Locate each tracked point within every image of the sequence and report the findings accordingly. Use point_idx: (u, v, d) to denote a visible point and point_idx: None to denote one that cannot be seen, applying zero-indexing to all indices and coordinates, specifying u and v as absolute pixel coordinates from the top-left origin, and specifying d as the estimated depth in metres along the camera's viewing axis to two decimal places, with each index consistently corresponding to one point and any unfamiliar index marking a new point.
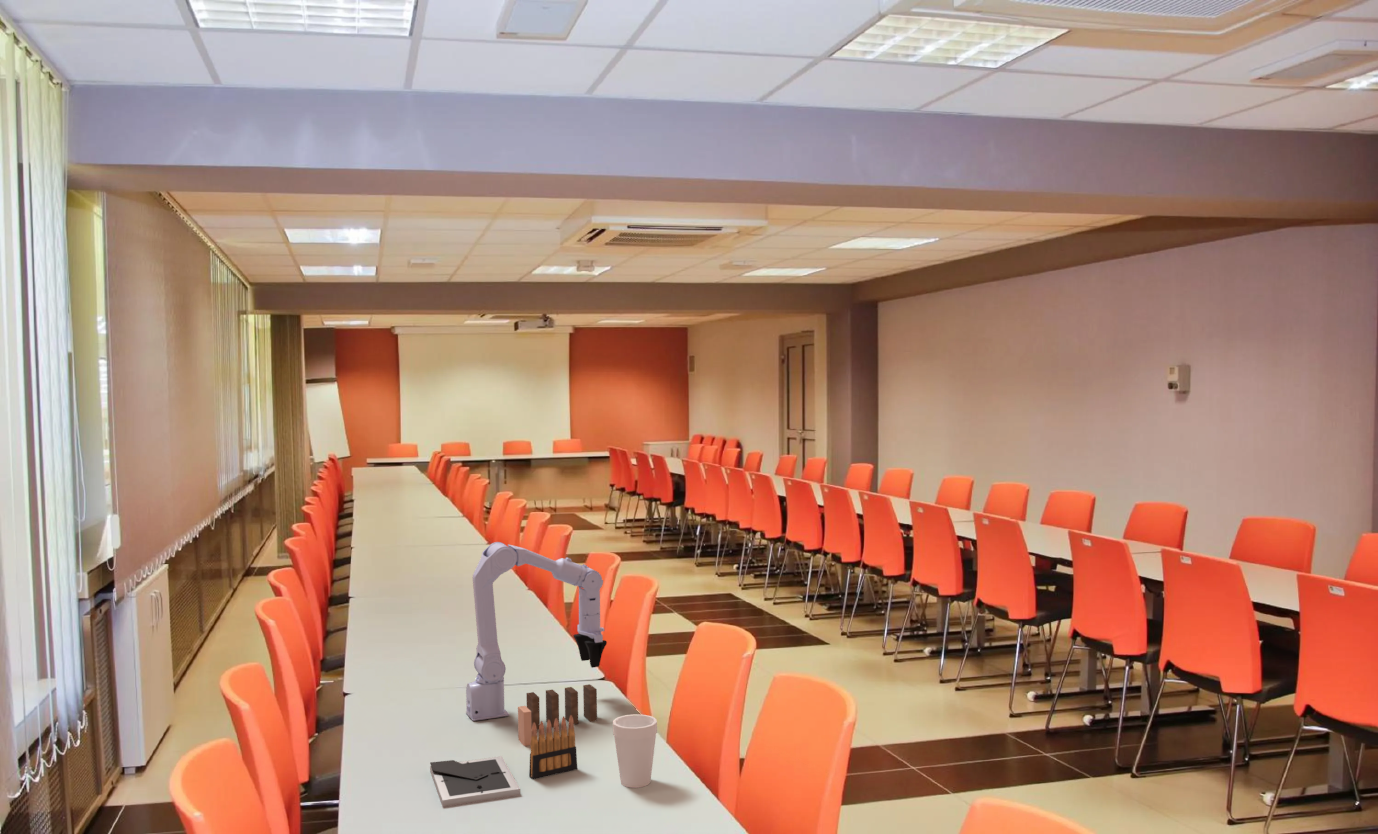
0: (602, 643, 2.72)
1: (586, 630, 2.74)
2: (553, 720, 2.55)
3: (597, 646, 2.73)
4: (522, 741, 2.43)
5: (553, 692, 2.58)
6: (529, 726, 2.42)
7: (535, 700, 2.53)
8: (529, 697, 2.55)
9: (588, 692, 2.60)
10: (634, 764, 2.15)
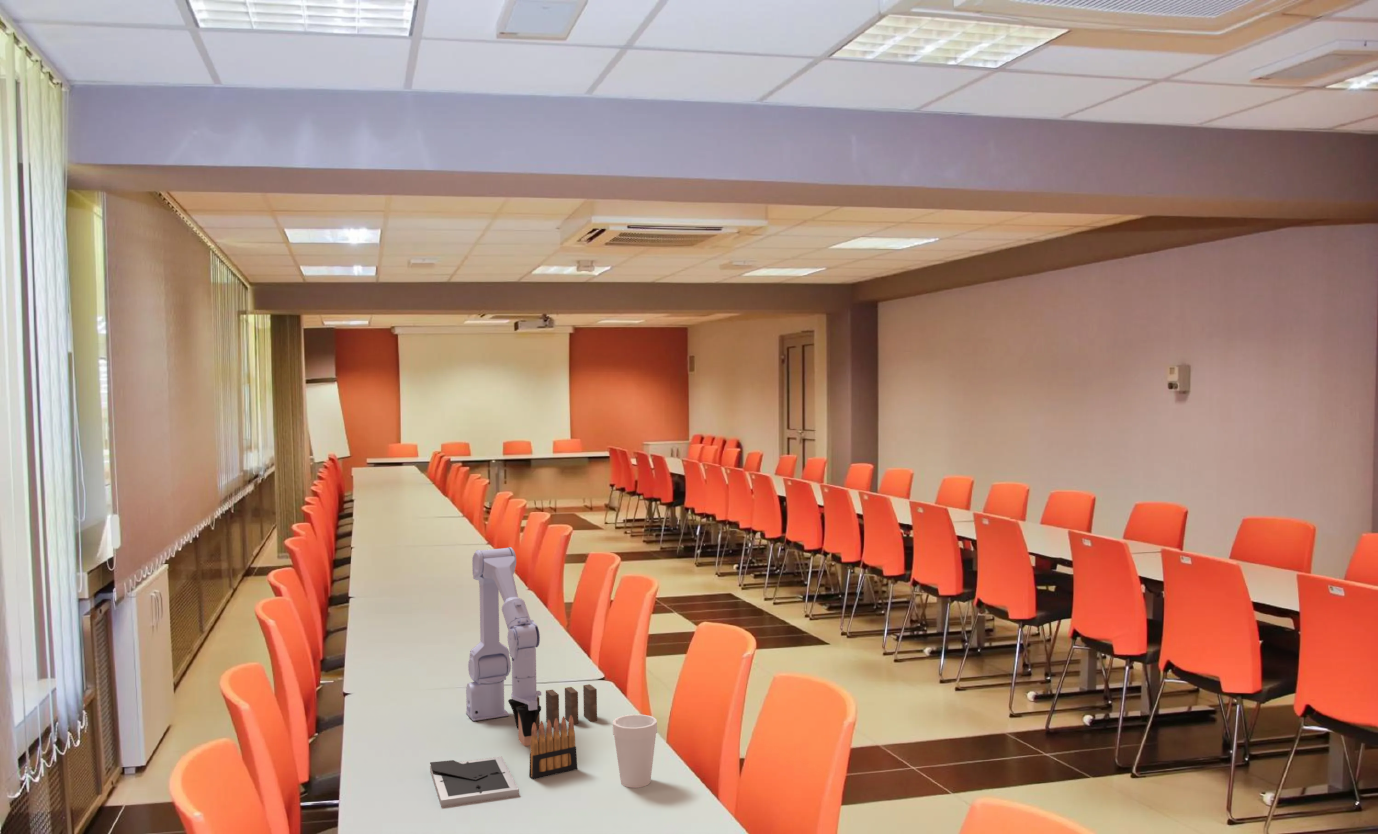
0: (536, 709, 2.40)
1: (519, 695, 2.41)
2: (553, 720, 2.55)
3: (530, 712, 2.41)
4: (522, 741, 2.43)
5: (553, 692, 2.58)
6: None
7: None
8: None
9: (588, 692, 2.60)
10: (634, 764, 2.15)
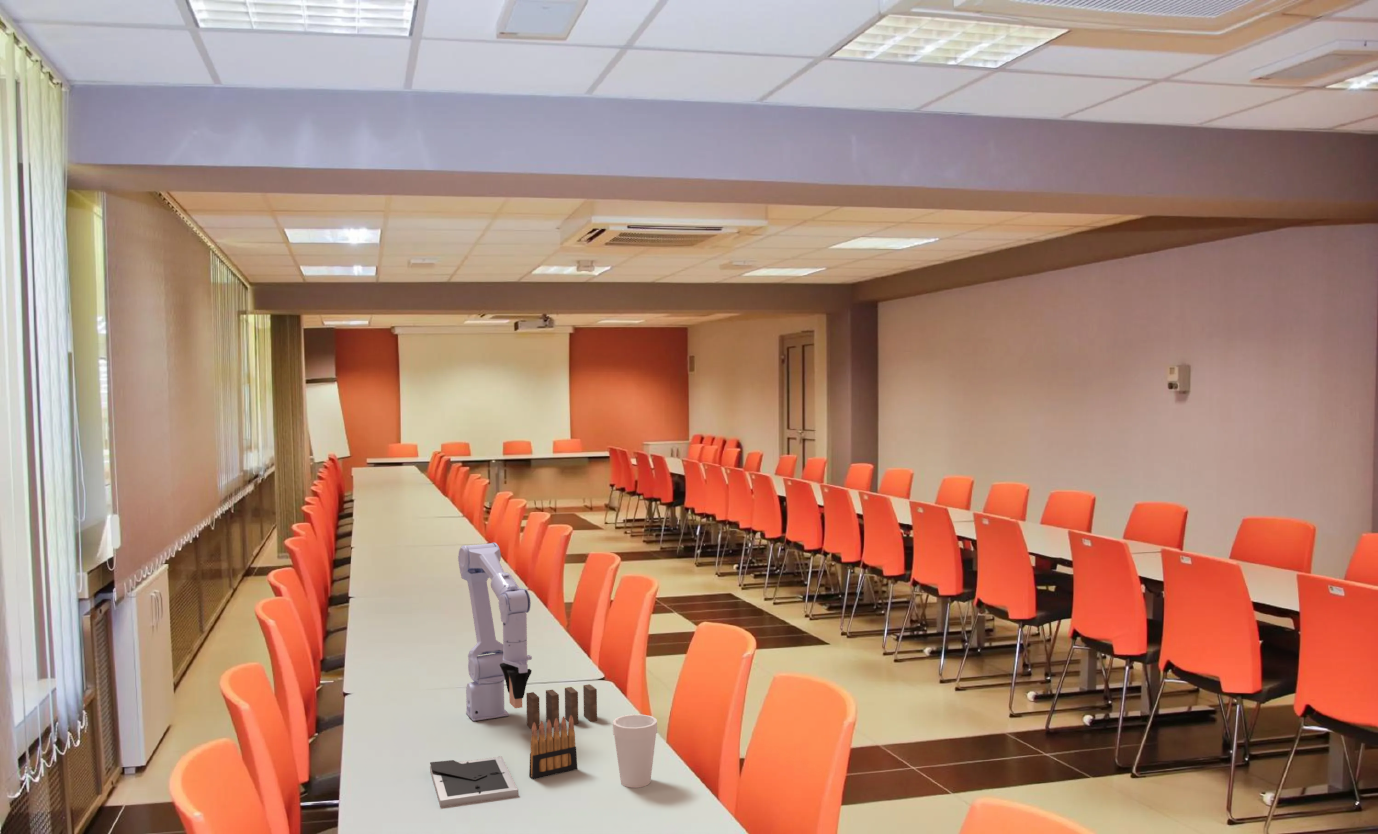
0: (526, 672, 2.47)
1: (510, 659, 2.48)
2: (553, 720, 2.55)
3: (521, 675, 2.48)
4: (513, 703, 2.50)
5: (553, 692, 2.58)
6: None
7: (535, 700, 2.53)
8: (529, 697, 2.55)
9: (588, 692, 2.60)
10: (634, 764, 2.15)
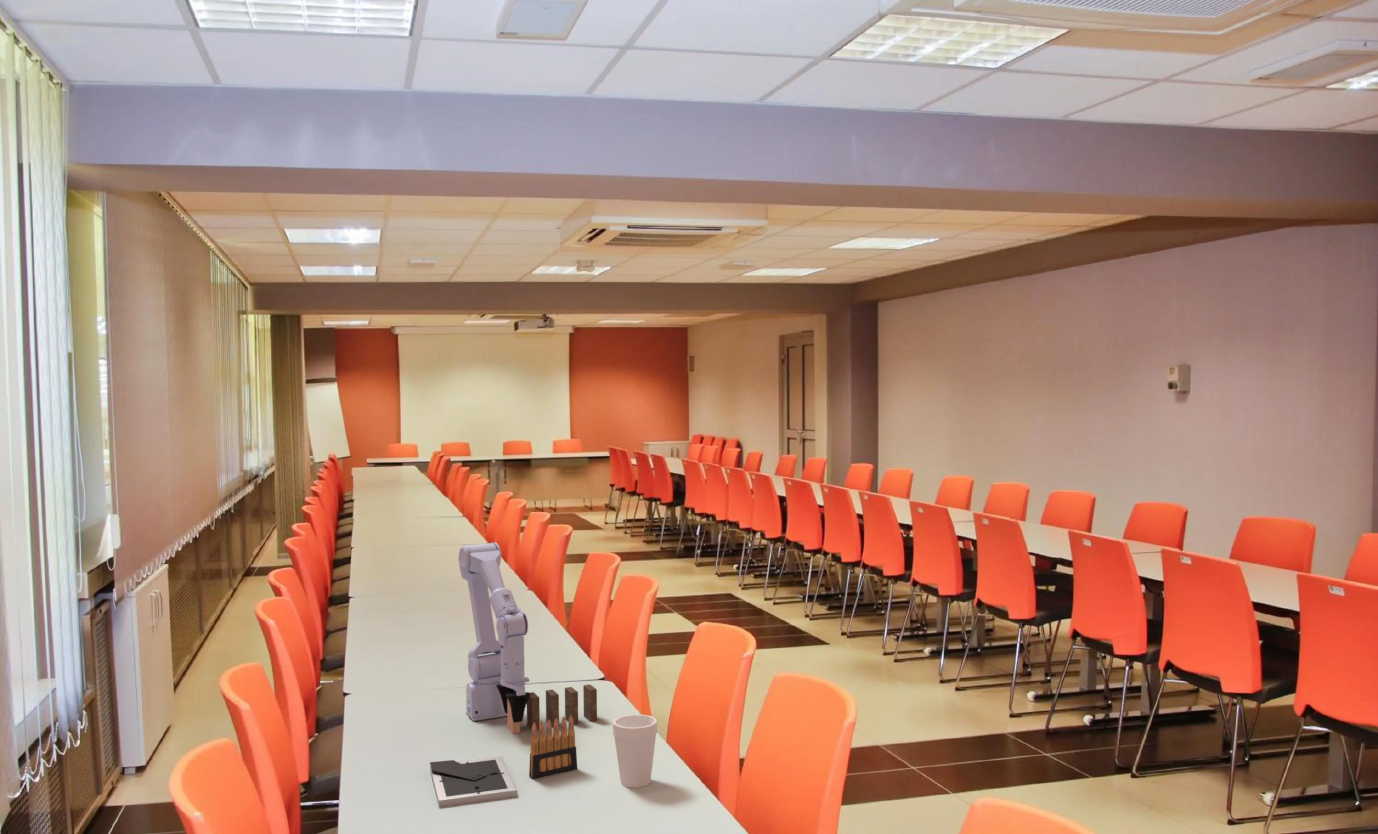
0: (525, 696, 2.48)
1: (508, 681, 2.50)
2: (553, 720, 2.55)
3: (520, 699, 2.50)
4: (511, 729, 2.52)
5: (553, 692, 2.58)
6: None
7: (535, 700, 2.53)
8: (529, 697, 2.55)
9: (588, 692, 2.60)
10: (634, 764, 2.15)
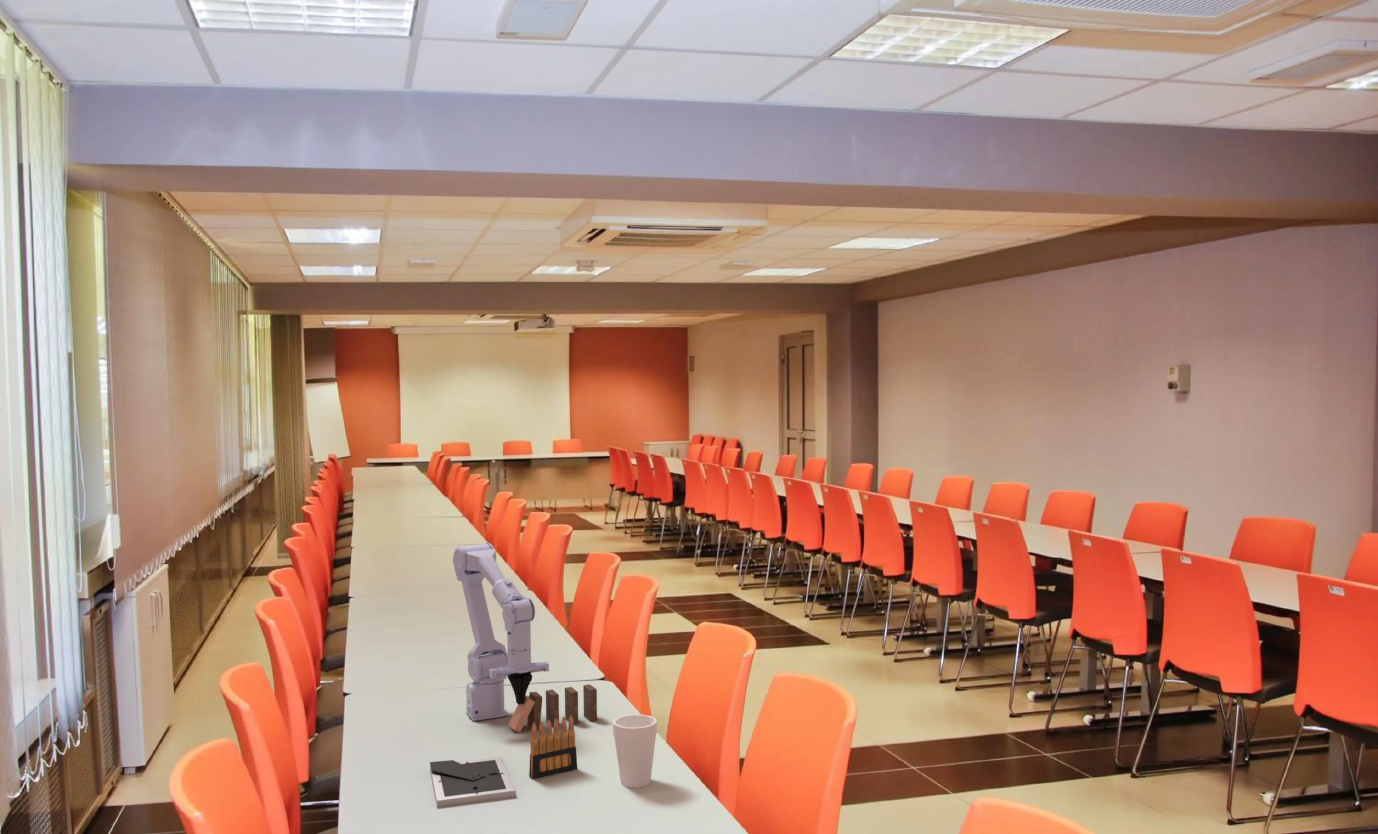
0: (510, 679, 2.52)
1: None
2: (553, 720, 2.55)
3: None
4: (513, 725, 2.52)
5: (553, 692, 2.58)
6: (526, 714, 2.52)
7: (538, 699, 2.53)
8: (532, 696, 2.55)
9: (588, 692, 2.60)
10: (634, 764, 2.15)
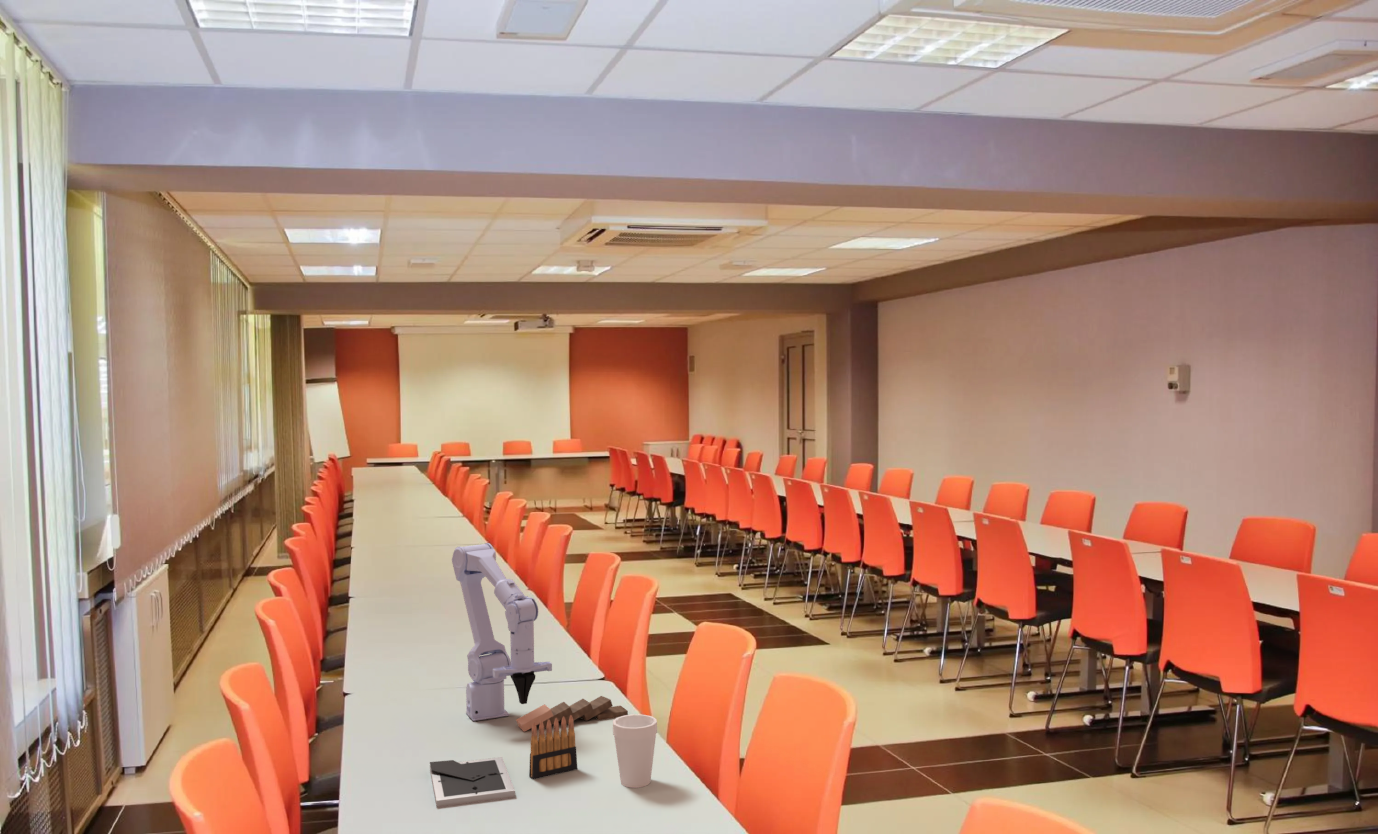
0: (514, 679, 2.52)
1: None
2: (569, 716, 2.57)
3: None
4: (522, 722, 2.53)
5: None
6: (539, 721, 2.54)
7: (569, 710, 2.57)
8: (565, 705, 2.59)
9: (622, 710, 2.64)
10: (634, 764, 2.15)
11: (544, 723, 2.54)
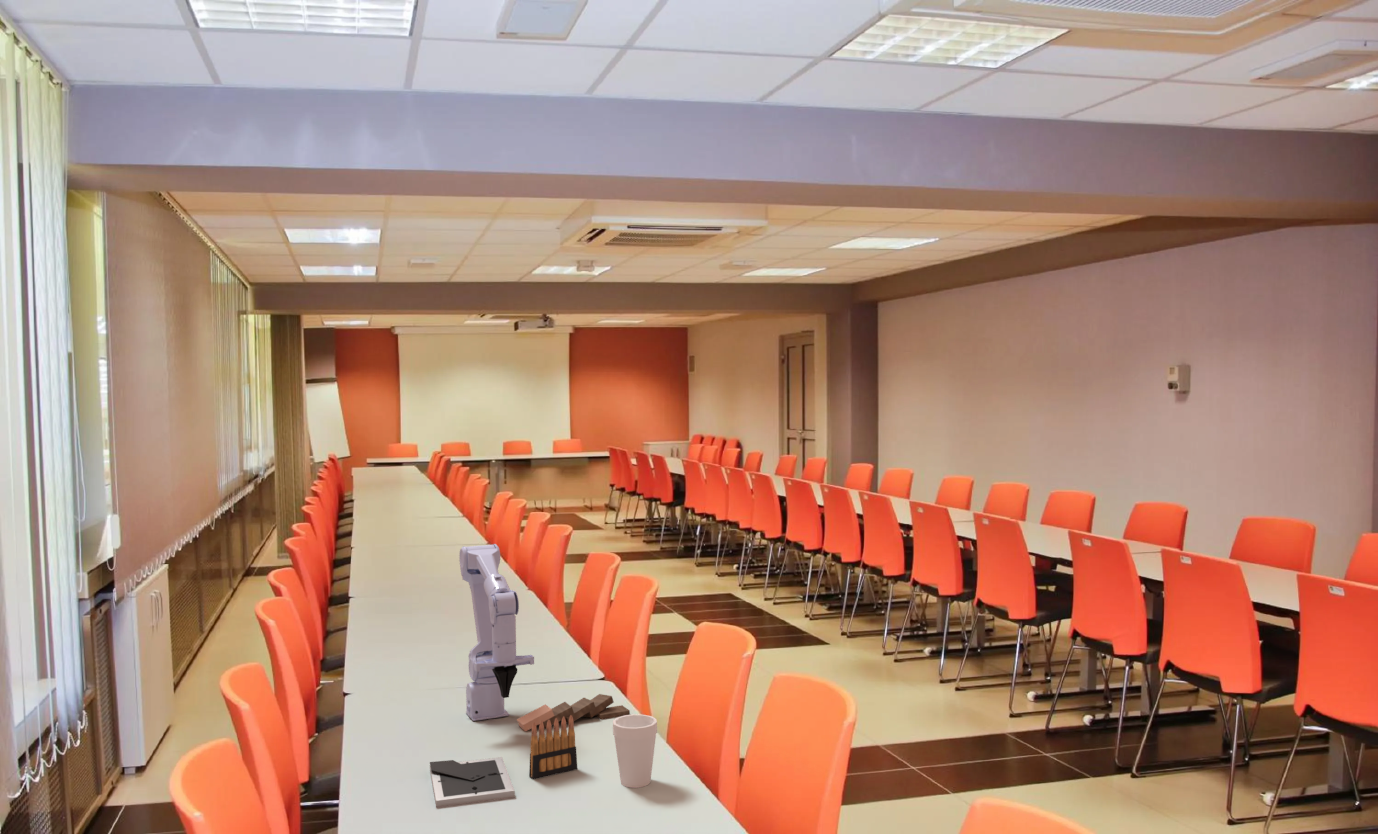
0: (495, 672, 2.50)
1: None
2: (573, 715, 2.58)
3: None
4: (523, 722, 2.53)
5: None
6: (540, 720, 2.54)
7: (570, 710, 2.57)
8: (566, 704, 2.60)
9: (624, 709, 2.65)
10: (634, 764, 2.15)
11: (546, 723, 2.55)
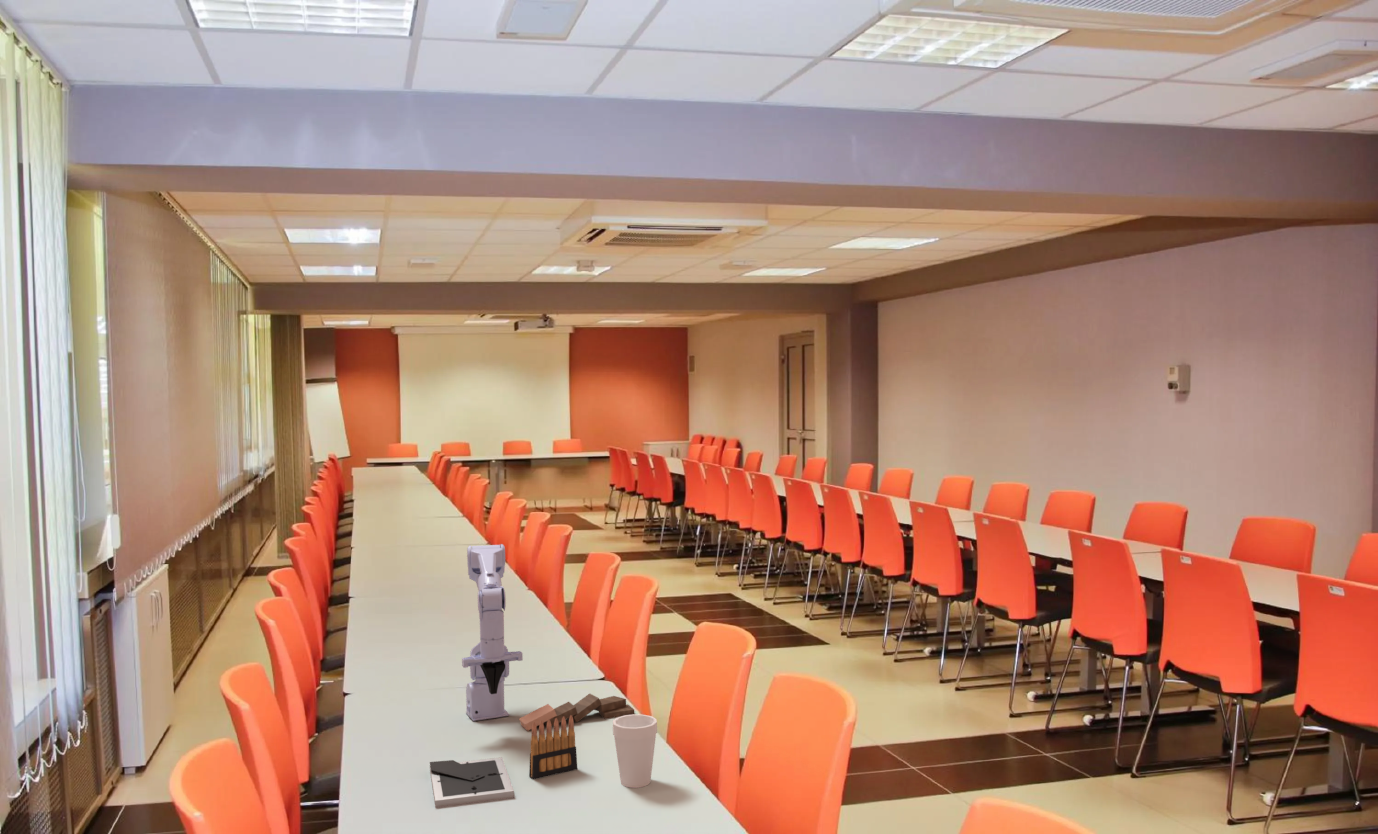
0: (483, 668, 2.49)
1: None
2: (579, 713, 2.59)
3: None
4: (526, 721, 2.54)
5: None
6: (543, 720, 2.54)
7: (574, 710, 2.58)
8: (570, 705, 2.60)
9: (629, 708, 2.65)
10: (634, 764, 2.15)
11: None
